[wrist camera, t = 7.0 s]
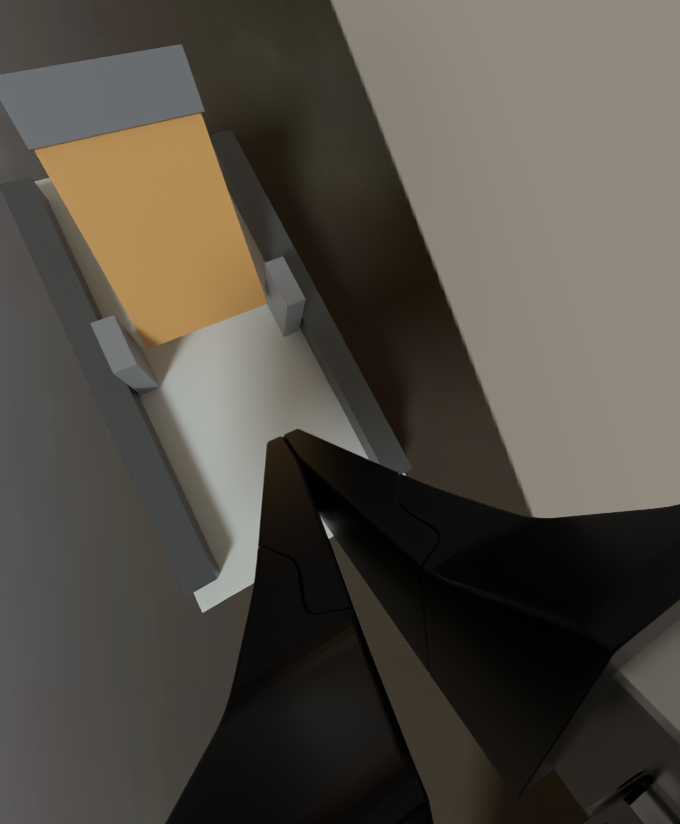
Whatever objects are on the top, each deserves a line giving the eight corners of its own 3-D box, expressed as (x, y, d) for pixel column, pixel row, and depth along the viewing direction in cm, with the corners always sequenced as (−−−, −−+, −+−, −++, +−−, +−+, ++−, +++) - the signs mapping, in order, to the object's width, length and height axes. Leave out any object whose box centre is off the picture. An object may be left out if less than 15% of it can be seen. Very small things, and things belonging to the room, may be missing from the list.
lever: (270, 303, 15) (181, 44, 11) (145, 351, 14) (-14, 76, 10) (259, 296, 17) (176, 64, 13) (144, 339, 16) (5, 95, 11)
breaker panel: (391, 489, 20) (442, 488, 14) (213, 592, 17) (186, 643, 12) (230, 182, 22) (217, 71, 16) (47, 233, 19) (-46, 122, 13)
